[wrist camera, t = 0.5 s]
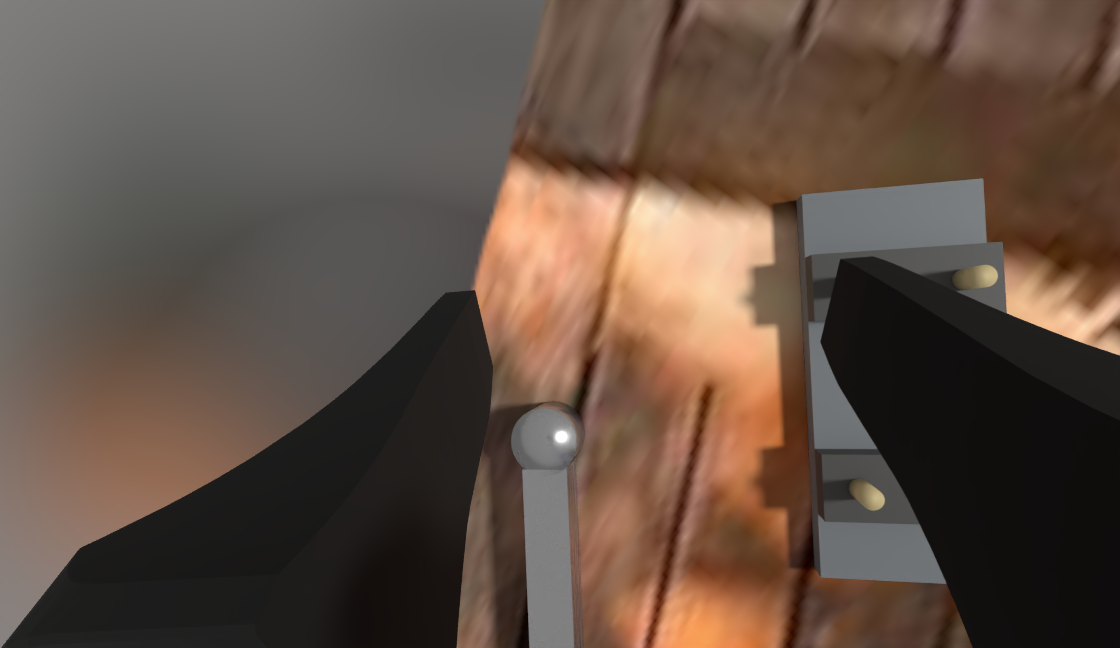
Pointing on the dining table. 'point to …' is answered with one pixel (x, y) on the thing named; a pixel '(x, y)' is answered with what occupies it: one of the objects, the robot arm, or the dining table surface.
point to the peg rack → (833, 427)
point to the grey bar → (551, 523)
